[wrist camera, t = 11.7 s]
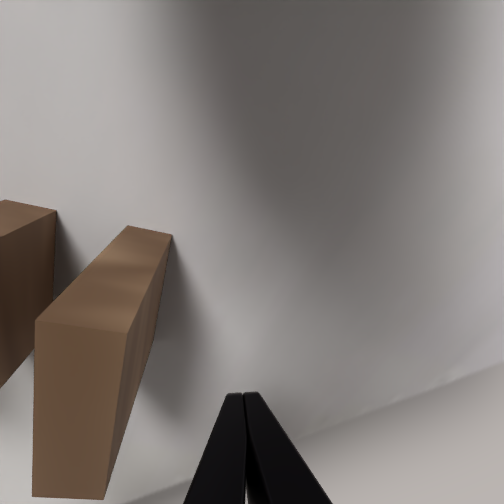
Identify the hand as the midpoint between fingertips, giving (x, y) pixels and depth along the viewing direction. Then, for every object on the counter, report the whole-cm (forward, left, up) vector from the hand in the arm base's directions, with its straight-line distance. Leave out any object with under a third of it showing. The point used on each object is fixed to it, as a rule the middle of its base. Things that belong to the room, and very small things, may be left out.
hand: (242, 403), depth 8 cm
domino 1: (+3, -2, -5) cm, 6 cm away
